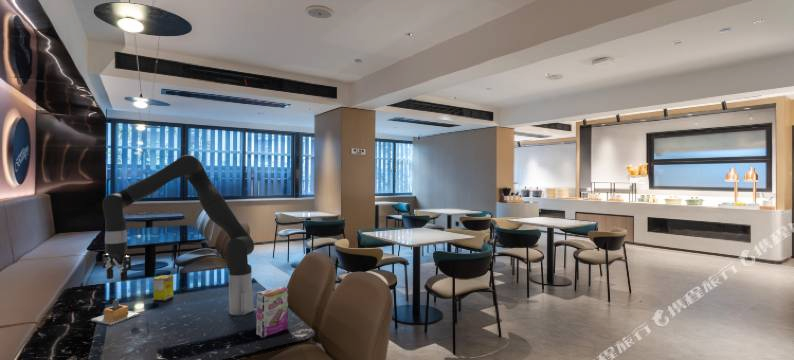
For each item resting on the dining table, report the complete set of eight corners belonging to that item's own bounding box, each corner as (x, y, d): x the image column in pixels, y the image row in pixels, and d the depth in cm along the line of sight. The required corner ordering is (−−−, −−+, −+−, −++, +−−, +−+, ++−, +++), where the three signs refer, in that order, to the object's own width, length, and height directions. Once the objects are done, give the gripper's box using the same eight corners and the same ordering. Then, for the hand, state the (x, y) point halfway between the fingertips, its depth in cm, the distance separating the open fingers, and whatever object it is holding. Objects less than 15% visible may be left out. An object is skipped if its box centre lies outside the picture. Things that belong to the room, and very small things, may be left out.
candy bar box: (263, 338, 144) (262, 294, 143) (255, 335, 147) (255, 292, 146) (288, 329, 152) (288, 287, 152) (281, 326, 155) (281, 285, 155)
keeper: (139, 314, 166) (139, 296, 166) (110, 325, 155) (110, 306, 155) (121, 311, 170) (120, 293, 170) (91, 321, 159) (90, 302, 159)
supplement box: (173, 297, 189) (173, 275, 188) (165, 301, 183) (164, 278, 182) (162, 297, 189) (162, 274, 189) (153, 301, 183) (153, 278, 183)
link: (128, 314, 164) (128, 306, 164) (113, 319, 159) (113, 311, 158) (118, 312, 166) (118, 304, 166) (103, 317, 161) (103, 309, 161)
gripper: (136, 240, 163) (137, 279, 163) (114, 238, 168) (114, 275, 168) (118, 244, 156) (119, 283, 156) (95, 241, 161) (96, 280, 161)
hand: (116, 279), depth 162 cm, fingers open, 8 cm apart
